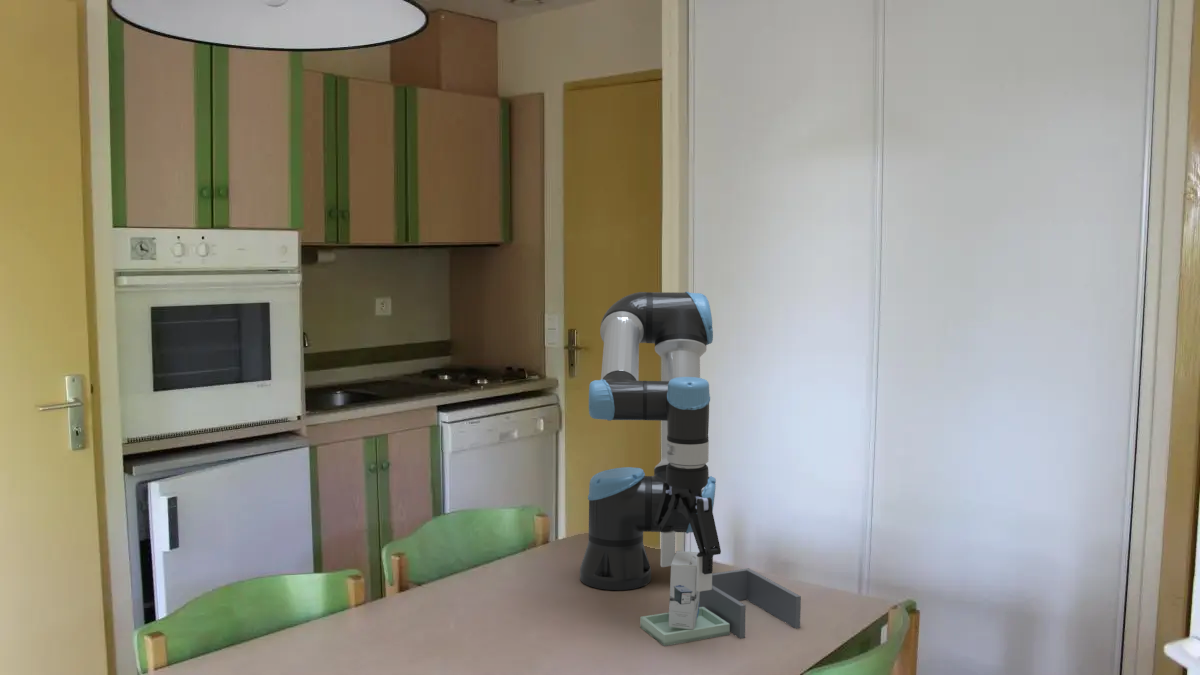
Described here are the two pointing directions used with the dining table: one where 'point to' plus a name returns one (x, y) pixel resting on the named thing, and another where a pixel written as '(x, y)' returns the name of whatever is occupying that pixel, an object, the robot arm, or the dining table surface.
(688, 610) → the ink box
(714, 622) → the tray
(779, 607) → the printer bay
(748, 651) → the dining table surface
